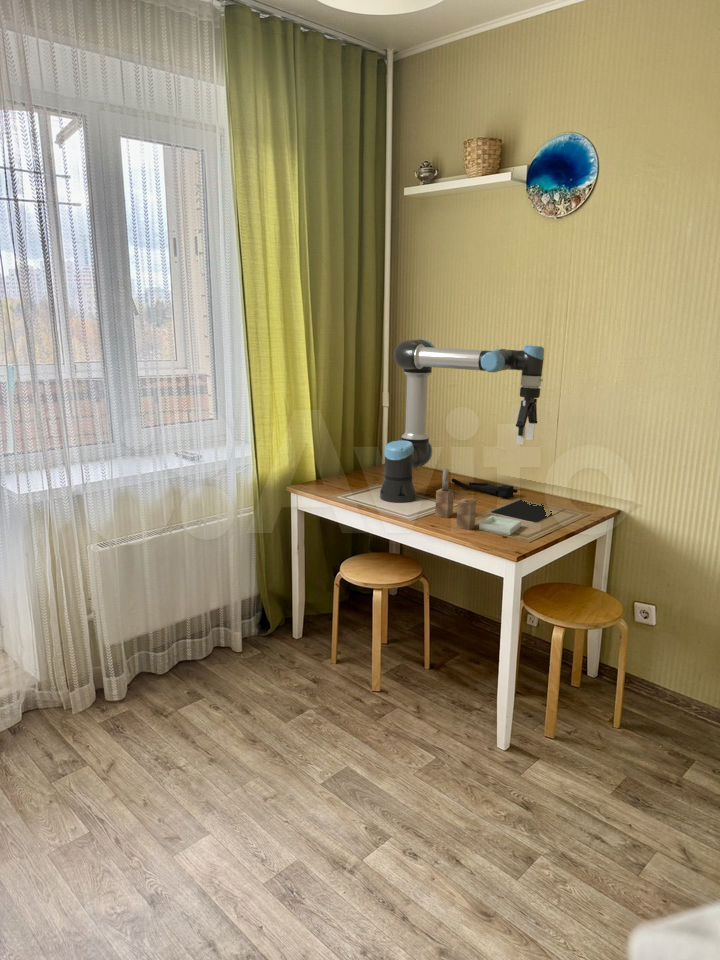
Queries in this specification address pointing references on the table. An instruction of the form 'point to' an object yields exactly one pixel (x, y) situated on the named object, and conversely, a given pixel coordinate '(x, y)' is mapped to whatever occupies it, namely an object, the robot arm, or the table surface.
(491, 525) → the tray
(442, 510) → the block
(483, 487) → the toy
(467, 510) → the block
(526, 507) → the tablet
